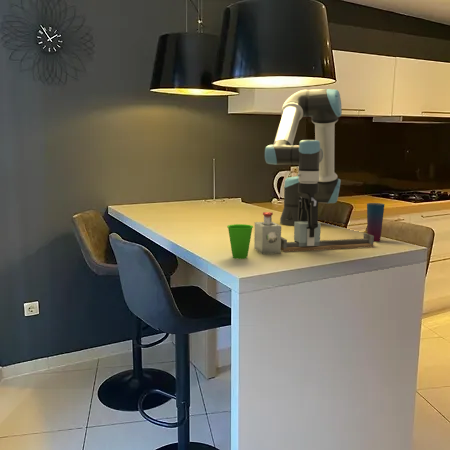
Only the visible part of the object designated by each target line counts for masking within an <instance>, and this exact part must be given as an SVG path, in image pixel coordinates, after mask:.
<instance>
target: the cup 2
mask: <svg viewBox="0 0 450 450" xmlns="http://www.w3.org/2000/svg"><path fill="white" fill-rule="evenodd" d="M384 213H385V203H382V202H368V203H366V214H367V215H366V220H367V222H366V227H367V228H366V229H367V230H366V231H367V232H366V233H367V234H370V235H373V236H374V241H378V242H381V237H382V228H383V222H384Z"/></svg>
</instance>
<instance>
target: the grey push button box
mask: <svg viewBox="0 0 450 450" xmlns="http://www.w3.org/2000/svg"><path fill="white" fill-rule="evenodd" d="M253 236H254V238H253V239H254V240H253V241H254V244H253V245H254V250H256V251H257V252H258V253H259V254H261V255H271V254H273V255H275V254H282V253H281V252H282V250H281V237H282V225H281V224H278V223H276V222H274V221H272V223H271V225H264V221H256V222H254V235H253Z"/></svg>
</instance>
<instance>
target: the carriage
mask: <svg viewBox="0 0 450 450" xmlns="http://www.w3.org/2000/svg"><path fill="white" fill-rule="evenodd" d="M321 224H322V223H321V222H318V227H317V228H315V239H314V246H319V243H320V241H321ZM293 226H294V227H293V228H294V229H293V231H294V232H293V242H299V244H298V246H299V247H304V246H307V228H306V227H308V221H300V222H294V225H293Z"/></svg>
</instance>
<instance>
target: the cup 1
mask: <svg viewBox="0 0 450 450" xmlns="http://www.w3.org/2000/svg"><path fill="white" fill-rule="evenodd" d="M227 229H228V230H227V231H228V235H229V242H230V249H231V254H232V257H233V258H232V259H237V260H243V259H244V260H245V259H247V258H248V255H249V249H250V243H251V237H252V232H253V229H254V225H251V224H246V223H245V224H244V223H243V224H241V223H236V224H235V223H234V224H229V225H227Z"/></svg>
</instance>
